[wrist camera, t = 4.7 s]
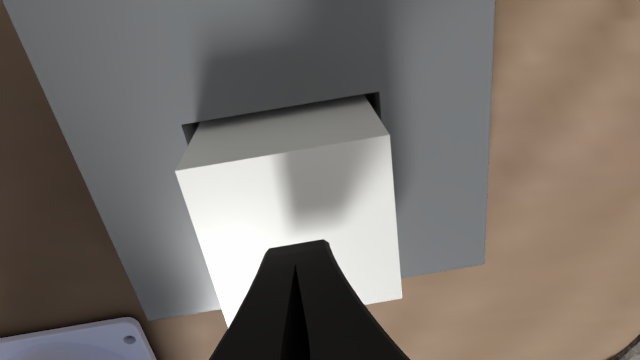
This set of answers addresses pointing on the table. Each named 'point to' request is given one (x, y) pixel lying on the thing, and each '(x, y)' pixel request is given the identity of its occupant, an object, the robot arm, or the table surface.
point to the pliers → (630, 351)
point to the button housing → (260, 95)
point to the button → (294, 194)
